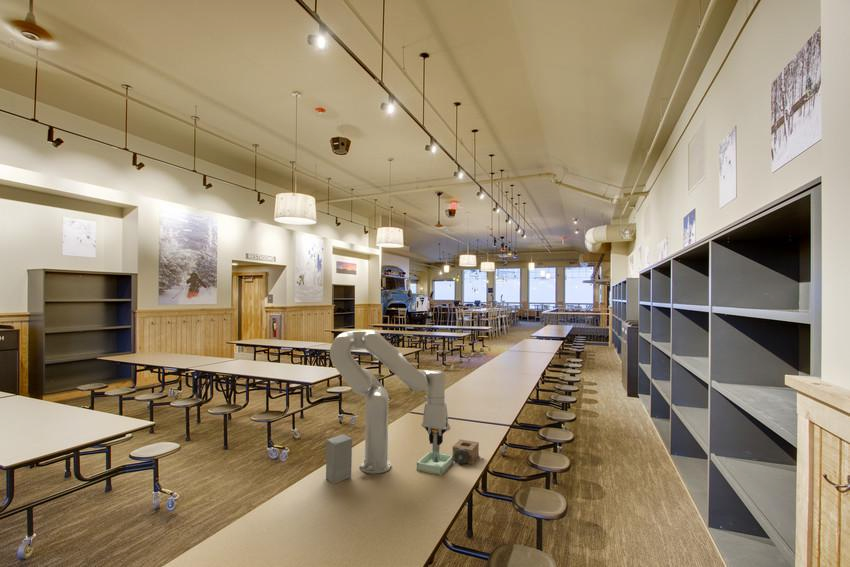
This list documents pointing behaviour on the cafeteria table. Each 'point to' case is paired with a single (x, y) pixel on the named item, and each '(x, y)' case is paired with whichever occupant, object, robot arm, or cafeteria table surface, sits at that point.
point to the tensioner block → (465, 451)
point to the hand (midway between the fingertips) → (435, 443)
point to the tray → (435, 463)
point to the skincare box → (338, 458)
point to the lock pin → (435, 445)
